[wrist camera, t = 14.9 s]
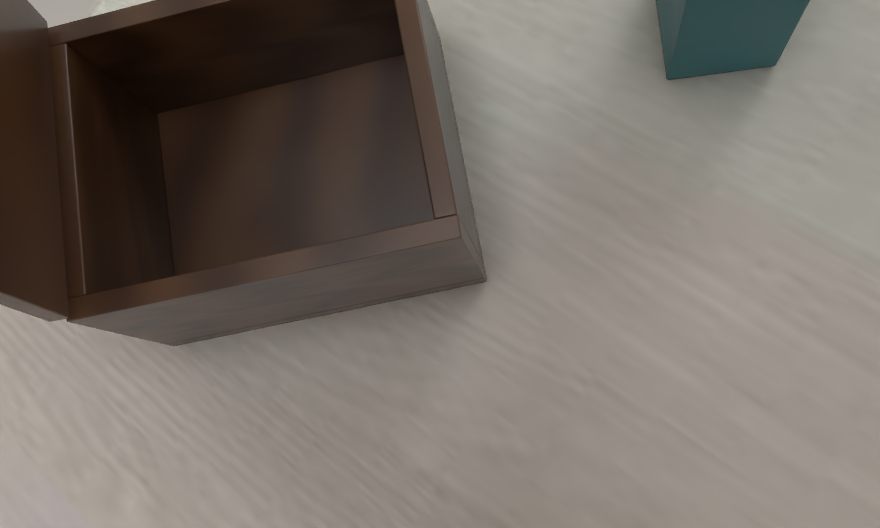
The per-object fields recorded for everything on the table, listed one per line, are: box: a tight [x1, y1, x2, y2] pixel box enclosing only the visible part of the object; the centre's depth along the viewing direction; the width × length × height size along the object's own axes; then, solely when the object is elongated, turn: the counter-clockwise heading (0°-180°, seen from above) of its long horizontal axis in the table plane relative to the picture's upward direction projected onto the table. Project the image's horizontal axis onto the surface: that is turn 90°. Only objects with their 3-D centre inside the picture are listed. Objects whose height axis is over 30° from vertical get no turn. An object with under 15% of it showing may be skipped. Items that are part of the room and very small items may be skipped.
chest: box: [48, 0, 487, 346], centre depth 37 cm, size 16×13×9 cm
